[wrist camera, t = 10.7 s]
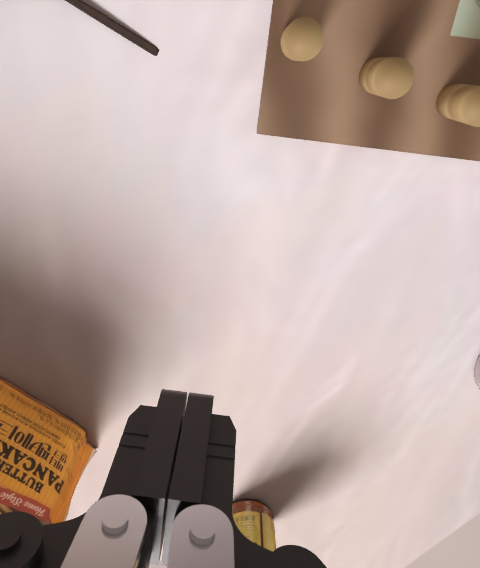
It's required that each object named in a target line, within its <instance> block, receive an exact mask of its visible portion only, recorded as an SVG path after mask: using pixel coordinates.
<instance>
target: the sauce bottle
mask: <svg viewBox="0 0 480 568" xmlns="http://www.w3.org/2000/svg"><path fill="white" fill-rule="evenodd" d="M232 514H233V519H234V521H235V524H236V526H237V527H238V529H239V530H240V532H241V533H242V534H243V535H244V536H245V537H246V538H248V539H249V540H250V541H252V542H254V543H256V544H258V545H260V546H262V547H264V548H266V549H268V550H270V551H274V550H275V549H276V541H275V529H274V523H273V521H272V518H273V517H272V513H271V511H270V510H269V509H268V508H267V507H266V506H265V505H263V504H262V503H260V502H258V501H253V500H242V501H238V502H236V503H233V504H232Z"/></svg>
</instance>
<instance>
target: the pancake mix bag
mask: <svg viewBox="0 0 480 568" xmlns="http://www.w3.org/2000/svg"><path fill="white" fill-rule="evenodd" d="M96 452H97V450H96V449H94V448H93V447H92V446H91V445H90V444H89V443H88V442H87V438H86V431H85V430H84V429H83V428H81V427H80V426H79V425H78V424H77V423H75V422H74V421H72V420H70V419H69V418H67V417H65V416H64V415H62V414H61V413H59V412H57V411H56V410H54V409H53V408H51V407H49V406H47V405H46V404H44V403H42V402H41V401H39V400H37V399H35V398H33V397H32V396H30V395H28V394H27V393H25V392H24V391H22V390H21V389H19V388H18V387H16V386H14V385H13V384H11V383H9V382H7V381H6V380H4V379H2V378H0V514H3V513H7V512H13V511H21V512H26V513H29V514H31V515H33V516H35V517H36V518H37V519H38V520H39V522H40V523H41V526H42V525H48V524H53V523H59V522H64V521H65V520H66V517H67V515H68V511H69V506H70V502H71V499H72V496H73V493H74V490H75V488H76V485H77V483H78V481H79V479H80V477H81V475H82V473H83V471H84V469H85V467H86V466H87V464H88V463H89V461H90V459H91V458H92V457H93V455H94V454H95V453H96Z"/></svg>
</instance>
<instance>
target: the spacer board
mask: <svg viewBox="0 0 480 568" xmlns="http://www.w3.org/2000/svg"><path fill="white" fill-rule="evenodd" d="M257 134H263V135H271V136H279V137H287V138H295V139H303V140H311V141H320V142H328V143H336V144H344V145H352V146H360V147H368V148H376V149H385V150H393V151H401V152H409V153H417V154H425V155H433V156H441V157H450V158H458V159H466V160H474V161H480V8H479V6H478V5H477V3H476V2H475V0H273V5H272V14H271V22H270V30H269V38H268V46H267V54H266V62H265V70H264V78H263V86H262V94H261V102H260V110H259V118H258V126H257Z"/></svg>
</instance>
